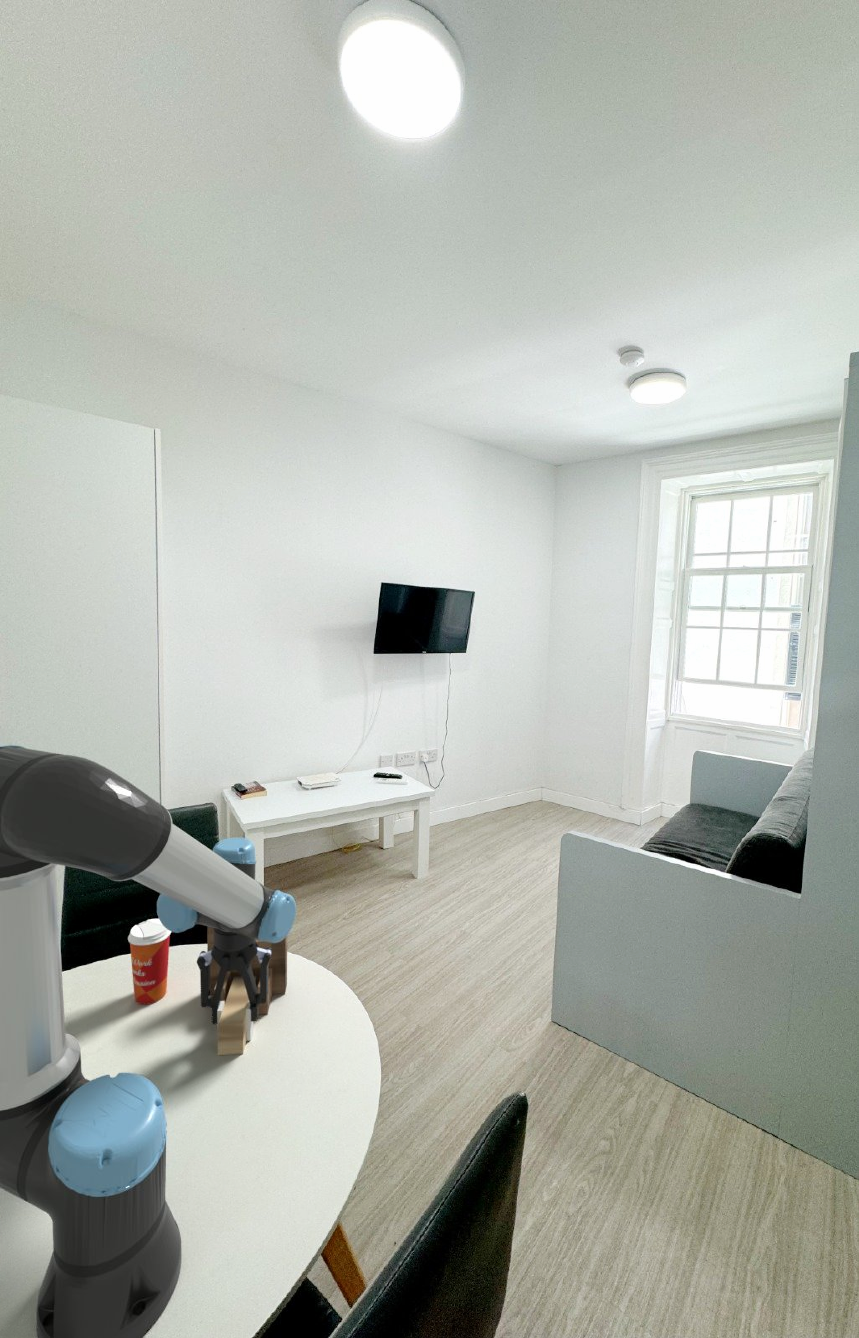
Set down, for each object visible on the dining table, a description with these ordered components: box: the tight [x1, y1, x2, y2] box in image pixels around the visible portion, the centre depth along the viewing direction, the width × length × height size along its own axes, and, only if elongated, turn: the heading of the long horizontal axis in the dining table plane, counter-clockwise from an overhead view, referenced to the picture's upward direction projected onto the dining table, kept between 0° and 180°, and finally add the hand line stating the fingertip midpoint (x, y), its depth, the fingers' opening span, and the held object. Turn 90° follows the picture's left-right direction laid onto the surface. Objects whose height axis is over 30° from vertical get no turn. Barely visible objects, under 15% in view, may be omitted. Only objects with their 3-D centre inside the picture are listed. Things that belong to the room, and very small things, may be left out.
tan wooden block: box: [217, 976, 256, 1056], centre depth 111 cm, size 14×4×6 cm, turn 7°
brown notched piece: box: [206, 926, 288, 1016], centre depth 118 cm, size 9×16×16 cm, turn 98°
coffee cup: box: [127, 918, 172, 1005], centre depth 119 cm, size 8×8×15 cm
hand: (235, 1036), depth 108 cm, fingers closed on tan wooden block, 5 cm apart
